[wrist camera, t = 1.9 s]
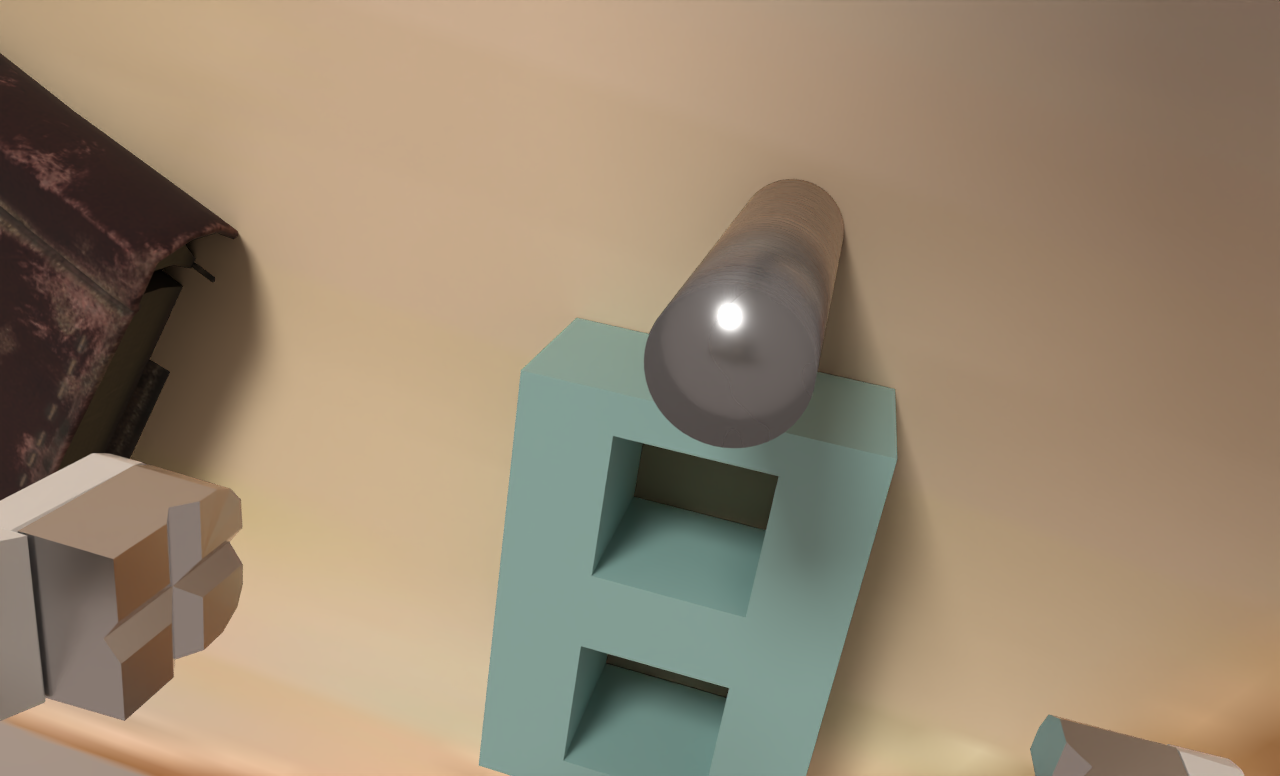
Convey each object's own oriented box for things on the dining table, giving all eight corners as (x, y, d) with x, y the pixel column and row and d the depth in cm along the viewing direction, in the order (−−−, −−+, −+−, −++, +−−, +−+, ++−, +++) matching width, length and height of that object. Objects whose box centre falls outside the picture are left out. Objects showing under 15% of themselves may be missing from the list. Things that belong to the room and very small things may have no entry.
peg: (749, 170, 27) (658, 268, 16) (855, 190, 26) (834, 305, 15) (730, 270, 28) (632, 426, 17) (830, 291, 27) (795, 465, 17)
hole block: (576, 317, 30) (521, 370, 25) (895, 389, 28) (896, 458, 23) (531, 669, 35) (478, 765, 31) (795, 746, 33) (782, 859, 29)
